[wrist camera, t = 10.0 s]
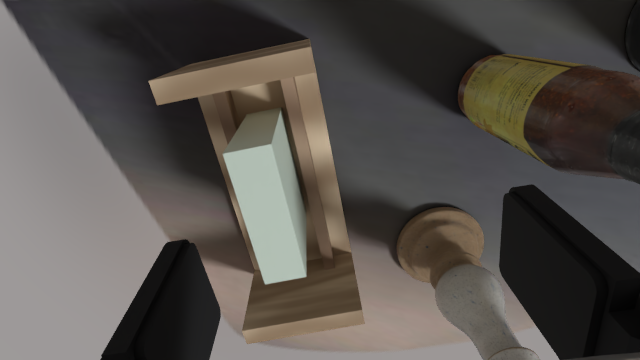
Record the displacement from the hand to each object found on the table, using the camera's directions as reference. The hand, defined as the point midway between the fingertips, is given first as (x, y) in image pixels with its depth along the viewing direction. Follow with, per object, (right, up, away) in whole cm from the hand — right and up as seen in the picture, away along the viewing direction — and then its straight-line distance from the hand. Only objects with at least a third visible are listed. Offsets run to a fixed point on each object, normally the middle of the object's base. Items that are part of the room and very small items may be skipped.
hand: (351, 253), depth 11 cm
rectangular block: (-5, +4, +22) cm, 23 cm away
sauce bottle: (+14, +10, +21) cm, 27 cm away
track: (-5, +3, +24) cm, 24 cm away
